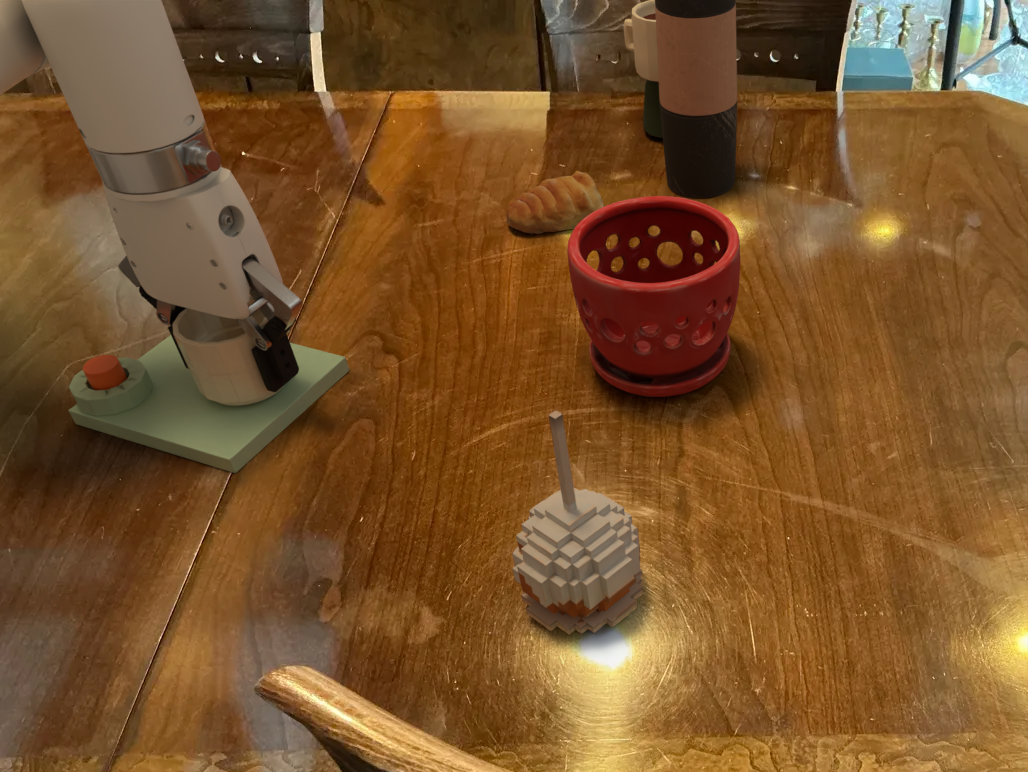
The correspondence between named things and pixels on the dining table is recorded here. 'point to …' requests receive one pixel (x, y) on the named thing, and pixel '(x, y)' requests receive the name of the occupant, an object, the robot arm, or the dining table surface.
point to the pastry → (555, 204)
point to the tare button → (104, 372)
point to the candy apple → (577, 554)
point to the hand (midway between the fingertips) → (242, 369)
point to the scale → (198, 407)
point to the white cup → (221, 357)
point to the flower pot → (656, 294)
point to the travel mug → (698, 94)
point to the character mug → (646, 61)
